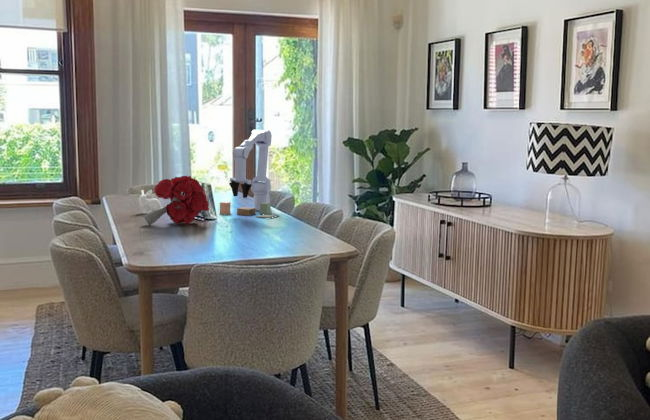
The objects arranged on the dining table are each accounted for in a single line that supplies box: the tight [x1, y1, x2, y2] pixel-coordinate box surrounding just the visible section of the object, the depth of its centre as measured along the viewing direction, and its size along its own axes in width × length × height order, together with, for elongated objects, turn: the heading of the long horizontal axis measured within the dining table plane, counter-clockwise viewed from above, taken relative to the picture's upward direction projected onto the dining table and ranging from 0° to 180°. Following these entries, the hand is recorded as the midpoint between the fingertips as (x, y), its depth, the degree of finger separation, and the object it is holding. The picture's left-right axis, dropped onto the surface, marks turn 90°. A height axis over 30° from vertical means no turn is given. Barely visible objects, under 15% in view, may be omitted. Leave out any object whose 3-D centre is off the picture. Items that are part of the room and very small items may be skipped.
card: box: [255, 213, 280, 219], centre depth 332 cm, size 10×8×1 cm
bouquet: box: [143, 175, 210, 226], centre depth 298 cm, size 22×24×30 cm
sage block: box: [259, 202, 272, 215], centre depth 341 cm, size 4×4×6 cm
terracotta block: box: [219, 201, 232, 215], centre depth 339 cm, size 4×4×6 cm
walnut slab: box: [236, 206, 257, 216], centre depth 339 cm, size 7×7×4 cm
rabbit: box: [138, 189, 164, 215], centre depth 333 cm, size 12×9×12 cm
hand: (240, 196), depth 332 cm, fingers open, 7 cm apart
